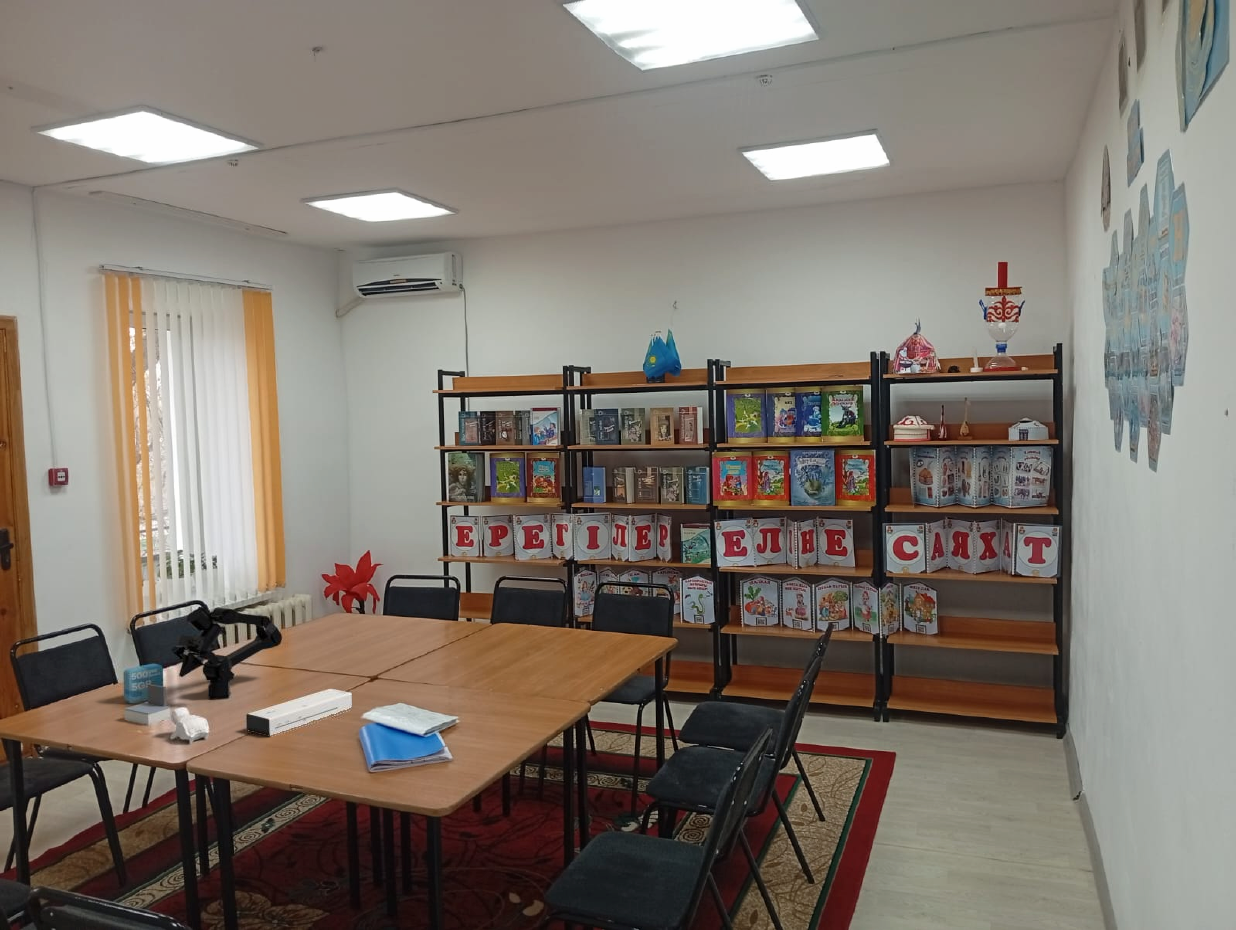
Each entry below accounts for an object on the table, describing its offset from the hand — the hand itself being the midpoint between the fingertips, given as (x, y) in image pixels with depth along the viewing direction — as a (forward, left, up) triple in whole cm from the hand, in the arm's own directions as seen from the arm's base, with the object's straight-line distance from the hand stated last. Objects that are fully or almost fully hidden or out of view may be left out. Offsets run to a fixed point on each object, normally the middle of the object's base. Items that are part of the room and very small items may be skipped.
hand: (180, 676), depth 316 cm
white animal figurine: (-8, +33, -12) cm, 36 cm away
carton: (+9, +10, -11) cm, 17 cm away
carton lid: (+9, +10, -8) cm, 15 cm away
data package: (+15, -16, -12) cm, 25 cm away
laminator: (-41, +24, -12) cm, 49 cm away
